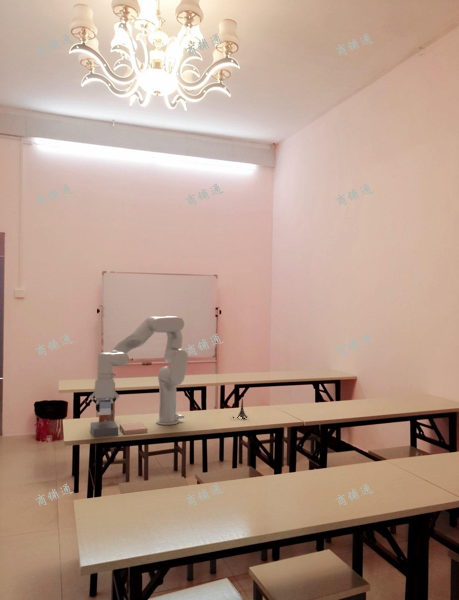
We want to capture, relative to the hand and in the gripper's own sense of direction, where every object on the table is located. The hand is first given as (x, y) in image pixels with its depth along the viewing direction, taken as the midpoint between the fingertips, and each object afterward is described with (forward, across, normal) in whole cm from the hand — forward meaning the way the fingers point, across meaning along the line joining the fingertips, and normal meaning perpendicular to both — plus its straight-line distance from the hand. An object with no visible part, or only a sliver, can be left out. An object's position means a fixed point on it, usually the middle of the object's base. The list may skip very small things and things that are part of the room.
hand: (104, 411), depth 241 cm
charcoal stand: (+11, 0, 0) cm, 11 cm away
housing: (+1, 0, 0) cm, 1 cm away
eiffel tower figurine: (+11, -80, -4) cm, 81 cm away
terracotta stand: (+11, -15, 0) cm, 19 cm away
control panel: (+11, -4, -20) cm, 23 cm away
